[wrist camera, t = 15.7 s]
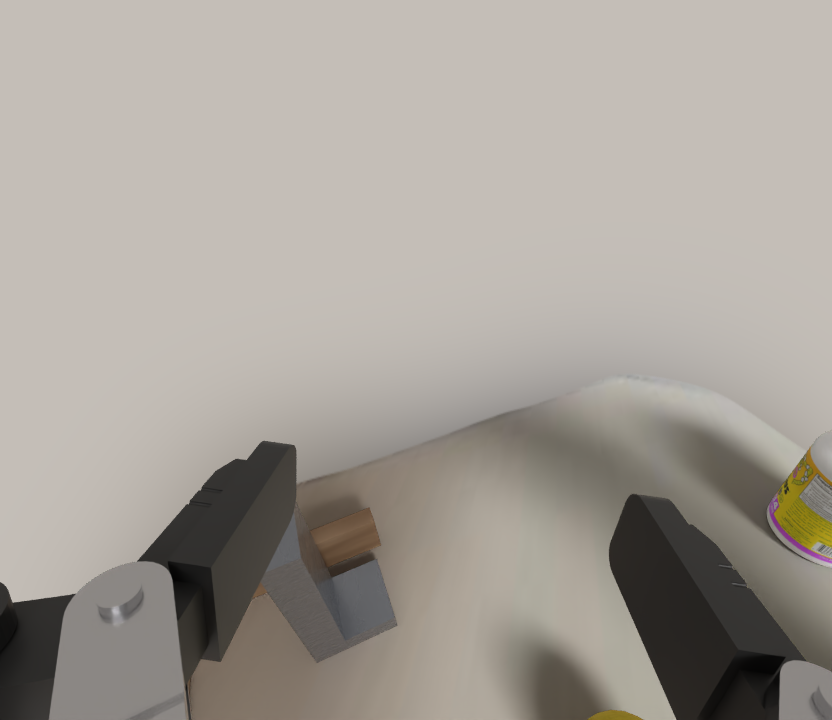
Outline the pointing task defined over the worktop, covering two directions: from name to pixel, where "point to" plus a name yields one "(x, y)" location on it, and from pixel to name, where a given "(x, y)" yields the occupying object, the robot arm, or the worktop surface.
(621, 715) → the lemon
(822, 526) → the supplement bottle
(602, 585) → the worktop surface
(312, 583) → the angle bracket
